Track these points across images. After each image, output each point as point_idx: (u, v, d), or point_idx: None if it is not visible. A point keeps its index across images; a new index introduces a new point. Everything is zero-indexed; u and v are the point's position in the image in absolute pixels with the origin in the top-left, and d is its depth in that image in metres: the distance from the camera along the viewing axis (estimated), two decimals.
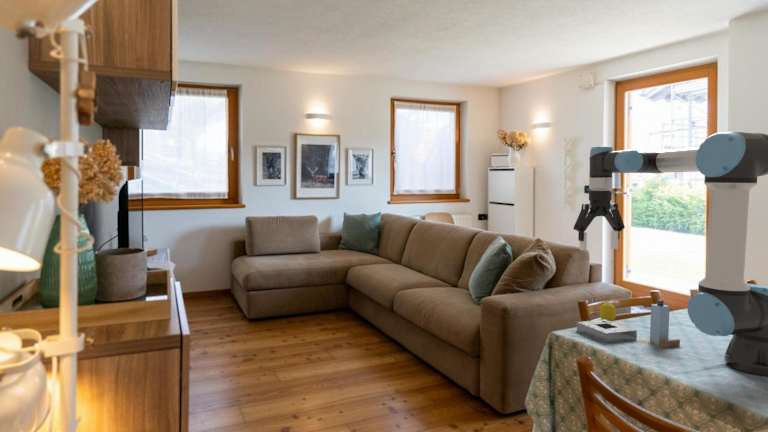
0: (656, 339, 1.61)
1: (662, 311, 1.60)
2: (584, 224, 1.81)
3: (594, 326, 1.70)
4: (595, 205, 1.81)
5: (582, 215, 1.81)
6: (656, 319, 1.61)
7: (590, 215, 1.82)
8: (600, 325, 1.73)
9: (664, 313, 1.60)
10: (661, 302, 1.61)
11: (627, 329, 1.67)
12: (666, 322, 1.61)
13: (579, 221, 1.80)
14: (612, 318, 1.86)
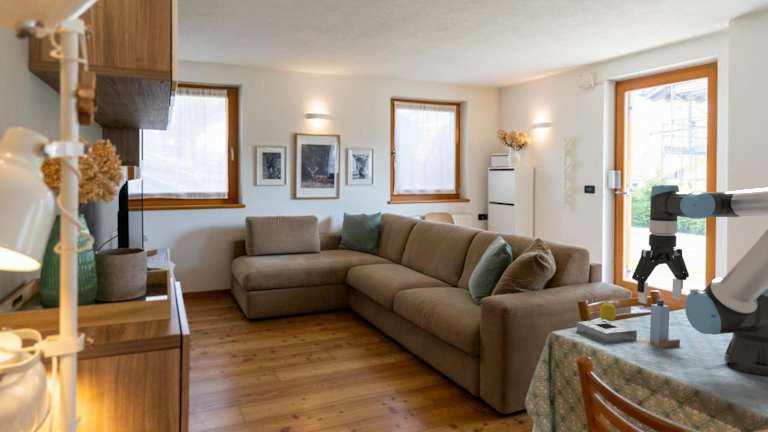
0: (656, 339, 1.61)
1: (662, 311, 1.60)
2: (644, 273, 1.59)
3: (594, 326, 1.70)
4: (657, 252, 1.59)
5: (643, 263, 1.58)
6: (656, 319, 1.61)
7: (651, 263, 1.60)
8: (600, 325, 1.73)
9: (664, 313, 1.60)
10: (661, 302, 1.61)
11: (627, 329, 1.67)
12: (666, 322, 1.61)
13: (639, 270, 1.58)
14: (612, 318, 1.86)
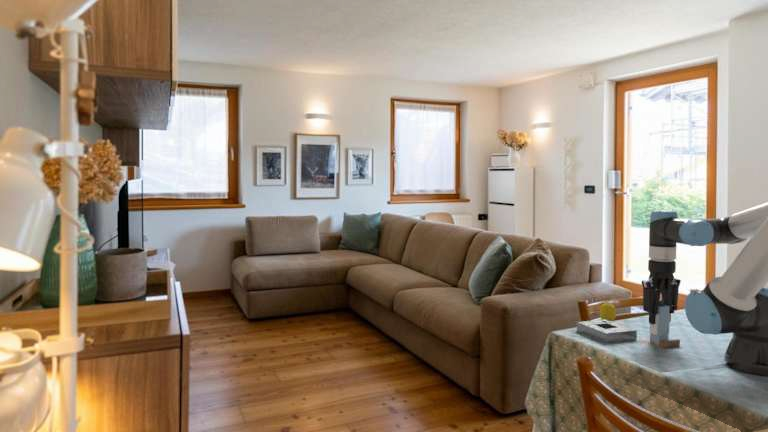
0: (656, 339, 1.61)
1: (662, 311, 1.60)
2: (653, 305, 1.60)
3: (594, 326, 1.70)
4: (656, 277, 1.59)
5: (647, 295, 1.59)
6: None
7: (655, 292, 1.61)
8: (600, 325, 1.73)
9: (664, 313, 1.60)
10: (661, 302, 1.61)
11: (627, 329, 1.67)
12: (666, 322, 1.61)
13: (647, 303, 1.60)
14: (612, 318, 1.86)
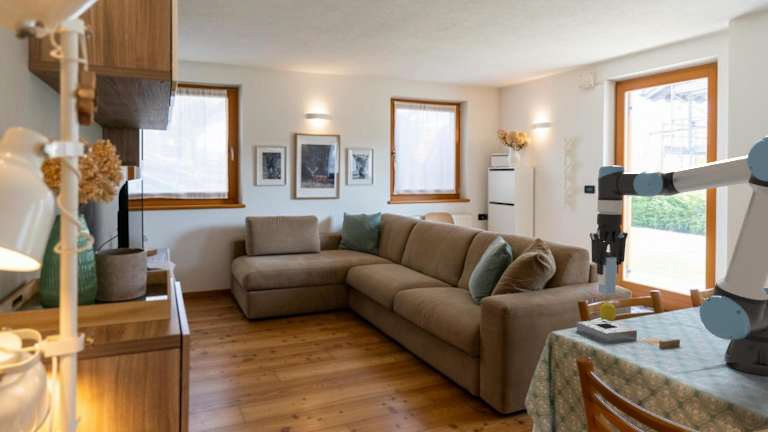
0: (603, 289, 1.69)
1: (609, 262, 1.68)
2: (601, 256, 1.68)
3: (594, 326, 1.70)
4: (603, 230, 1.67)
5: (595, 247, 1.67)
6: None
7: (602, 244, 1.68)
8: (600, 325, 1.73)
9: (611, 264, 1.68)
10: (608, 253, 1.68)
11: (627, 329, 1.67)
12: (613, 273, 1.68)
13: (595, 254, 1.67)
14: (612, 318, 1.86)
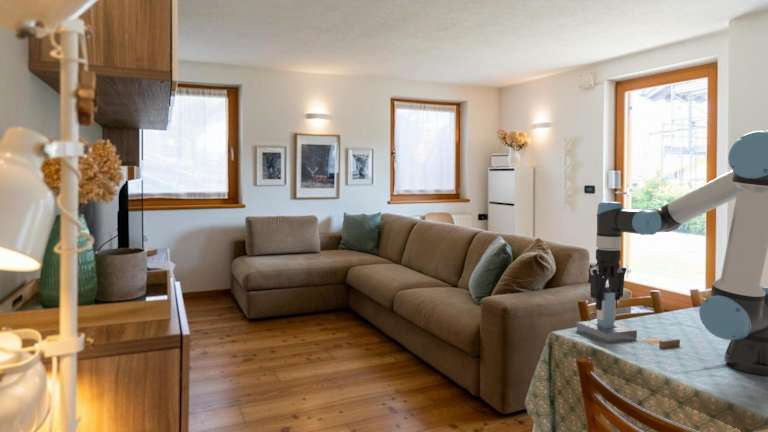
0: (602, 324, 1.70)
1: (608, 298, 1.68)
2: (599, 292, 1.69)
3: (594, 326, 1.70)
4: (602, 265, 1.68)
5: (594, 282, 1.67)
6: None
7: (601, 279, 1.69)
8: None
9: (609, 299, 1.69)
10: (607, 289, 1.69)
11: (627, 329, 1.67)
12: (612, 308, 1.69)
13: (594, 289, 1.68)
14: None
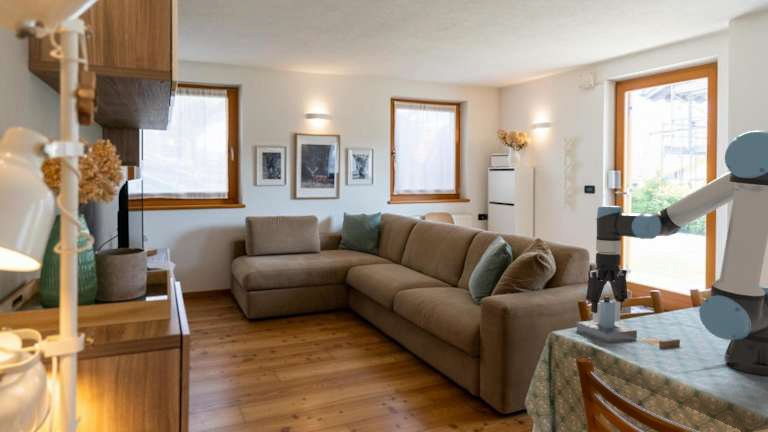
0: None
1: (608, 307, 1.68)
2: (596, 294, 1.68)
3: (594, 326, 1.70)
4: (602, 269, 1.68)
5: (592, 285, 1.67)
6: (602, 315, 1.70)
7: (599, 282, 1.69)
8: None
9: (609, 309, 1.69)
10: (607, 298, 1.69)
11: (627, 329, 1.67)
12: (612, 317, 1.69)
13: (590, 292, 1.67)
14: None
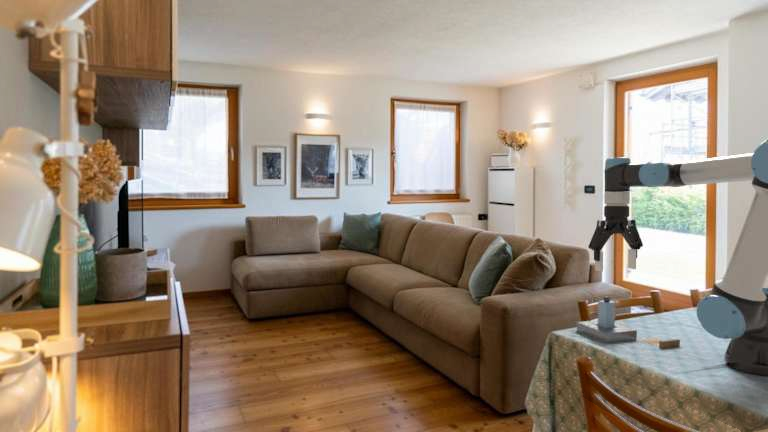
0: None
1: (608, 307, 1.68)
2: (600, 242, 1.66)
3: (594, 326, 1.70)
4: (612, 222, 1.66)
5: (598, 233, 1.65)
6: (602, 315, 1.70)
7: (606, 232, 1.67)
8: None
9: (609, 309, 1.69)
10: (607, 298, 1.69)
11: (627, 329, 1.67)
12: (612, 317, 1.69)
13: (595, 239, 1.65)
14: None
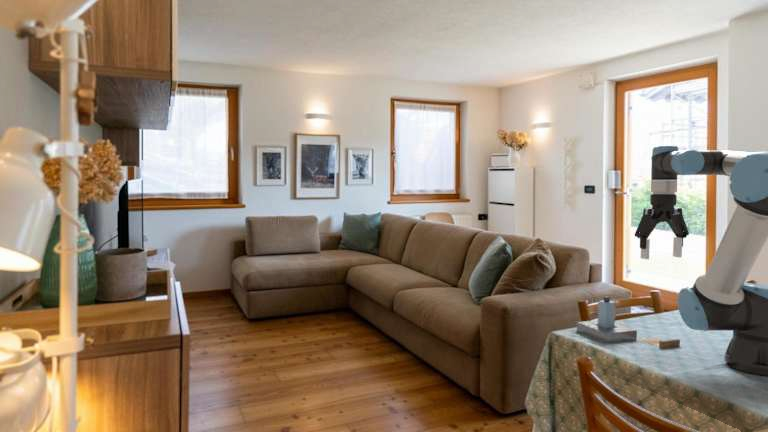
0: None
1: (608, 307, 1.68)
2: (646, 230, 1.67)
3: (594, 326, 1.70)
4: (658, 210, 1.67)
5: (644, 221, 1.66)
6: (602, 315, 1.70)
7: (653, 221, 1.67)
8: None
9: (609, 309, 1.69)
10: (607, 298, 1.69)
11: (627, 329, 1.67)
12: (612, 317, 1.69)
13: (641, 227, 1.66)
14: None
